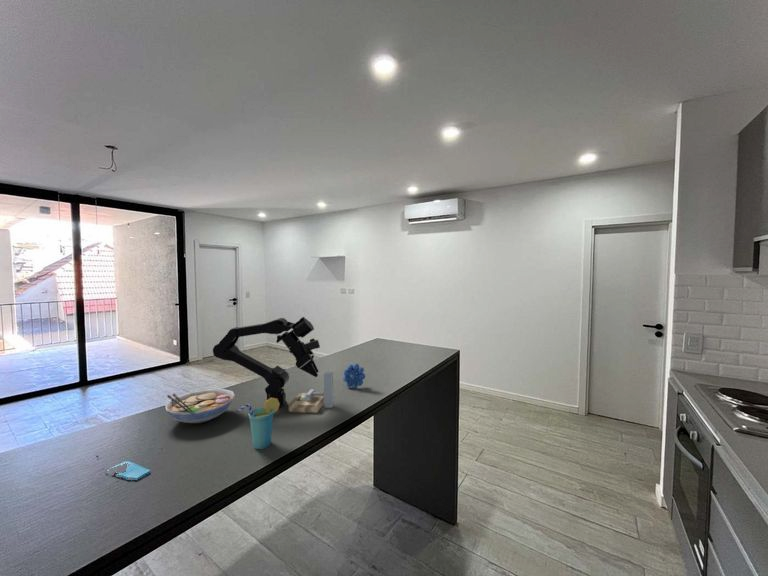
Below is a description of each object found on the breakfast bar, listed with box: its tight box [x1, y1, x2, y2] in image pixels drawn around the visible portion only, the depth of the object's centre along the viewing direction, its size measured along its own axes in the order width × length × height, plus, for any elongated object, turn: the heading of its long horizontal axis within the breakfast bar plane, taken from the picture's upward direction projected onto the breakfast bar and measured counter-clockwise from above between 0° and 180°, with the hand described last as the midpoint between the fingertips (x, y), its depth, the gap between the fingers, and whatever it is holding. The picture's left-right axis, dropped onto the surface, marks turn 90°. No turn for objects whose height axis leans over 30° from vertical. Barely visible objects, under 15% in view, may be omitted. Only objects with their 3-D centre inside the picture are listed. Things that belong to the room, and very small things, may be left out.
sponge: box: [106, 460, 151, 479], centre depth 88 cm, size 2×12×6 cm
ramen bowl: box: [164, 388, 236, 424], centre depth 121 cm, size 25×23×8 cm
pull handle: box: [306, 371, 335, 409], centre depth 131 cm, size 10×6×14 cm, turn 84°
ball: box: [300, 395, 306, 401], centre depth 132 cm, size 4×4×4 cm
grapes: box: [342, 363, 366, 390], centre depth 152 cm, size 12×7×12 cm, turn 66°
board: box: [287, 392, 324, 414], centre depth 132 cm, size 12×12×3 cm
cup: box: [236, 398, 280, 450], centre depth 101 cm, size 14×8×15 cm, turn 146°
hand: (317, 374), depth 133 cm, fingers open, 9 cm apart
